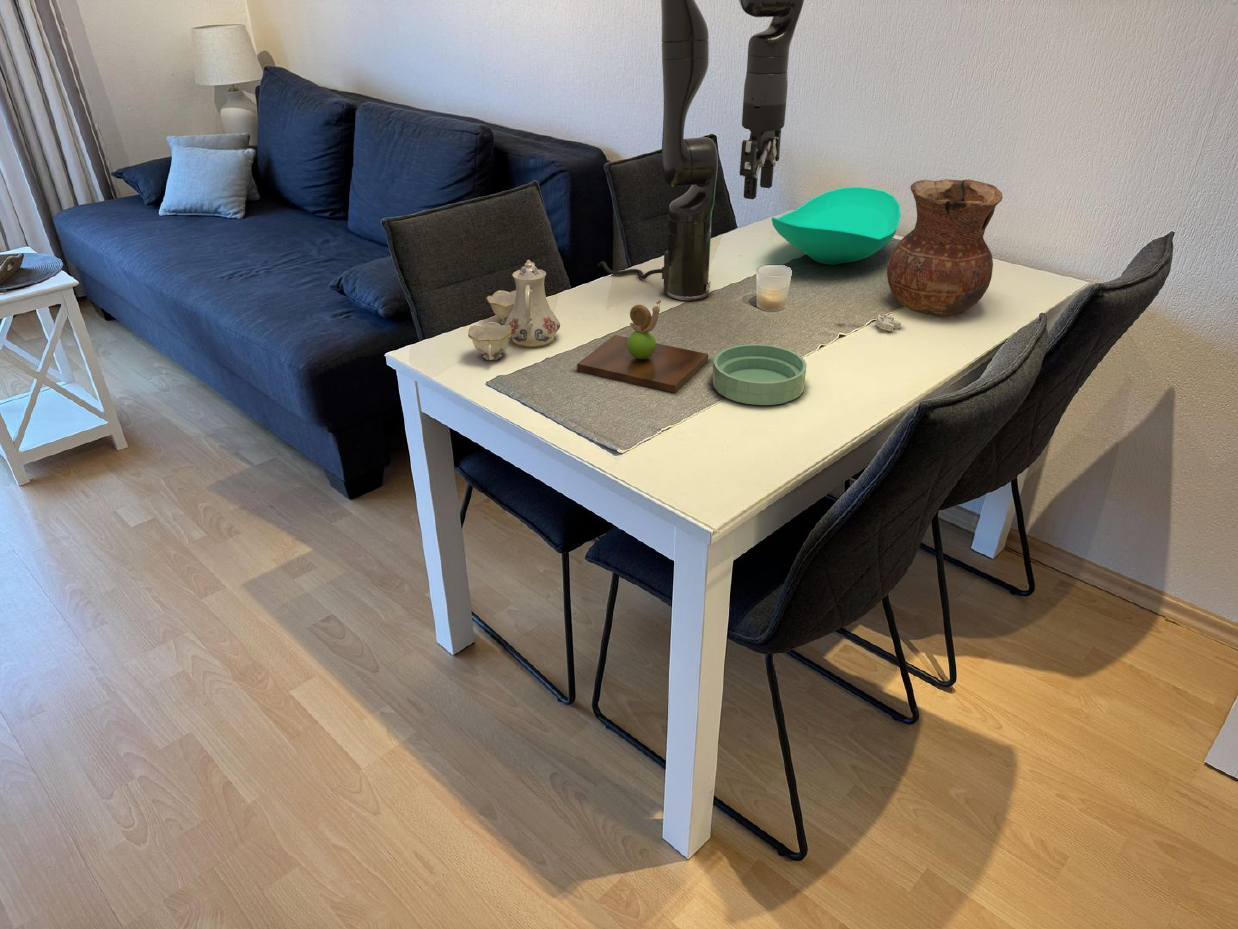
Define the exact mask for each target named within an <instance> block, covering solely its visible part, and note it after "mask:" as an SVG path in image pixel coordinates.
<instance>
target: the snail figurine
mask: <svg viewBox="0 0 1238 929" xmlns="http://www.w3.org/2000/svg"><path fill="white" fill-rule="evenodd" d="M661 301H662V300H661V299H658V300H655V304H656V305H654V306H653V307H652V313H651V311H650V310H649V308H648V307H647V306H645V305H643V304H635V305H633V306H632V307H631V309H630V310H629V318H630V320H631V322H629V326H630V327H631V328H632V330H634V331H633V332H632V333H631V334H630V335H629V336H628V341H627V348H628V351H629V353H630V354H631V355H632V356H633V357H635V358H637V359H646V358H649V357H650V356H651V355H652V354H653V353H654V352H655V349H656V343H657V340H656V337H655V335H654V334H653V333H651V332H652V331H653V330H654V329H655V327H656V326H657V322H658V319H659V313H660V312H661V307H660V306H661V305H660V304H661Z"/></svg>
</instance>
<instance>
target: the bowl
mask: <svg viewBox="0 0 1238 929" xmlns="http://www.w3.org/2000/svg"><path fill="white" fill-rule="evenodd" d="M807 365H808V364H807V362H806V360H805V359H804V357H802V356H801V355H800V354H799V353H797V352H794V351H793V350H791V349H788V348H784V347H782V346H776V345H772V344H763V343H746V344H737V345H733V346H730V347H727V348H725V349H722V350H720V351H719V352H718V353H717V354H716V355H715V356H714V359H713V363H712V381H711V382H712V386H713V388H714V389H715V391H716V392H717V393H718V394H719V395H721V396H723V397H724V398H726V399H729V400H731V401H734V402H737V403H741V404H747V405H754V406H774V405H781V404H785V403H788V402H791V401H794V400H795V399H797V398H799V397H800V396H801V395H802V394H803V392H804V391H805V383H806V374H807Z"/></svg>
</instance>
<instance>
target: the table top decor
mask: <svg viewBox="0 0 1238 929" xmlns="http://www.w3.org/2000/svg"><path fill="white" fill-rule="evenodd" d="M901 213H902V212H901V204H900V203H899V202H898V200H897V199H896V197H895V196H894V195H892V194H891V193H889V192H887V191H885V190H883V189H882V190H881V189H877V188H872V187H863V186H850V187H849V186H848V187H847V186H846V187H839V188H836V189H833V190H829V191H825V192H823V193H821V194H819V195H817V196H814V197H813V198H811V199H809V200H808V201H806V202H805V203H804V204H802V205H801V206H800V207H798V208H796V209H794V210H792V211H789V212H787V213H785V214H783V215H781V216H780V217H774V216H772V217H771V223H772V226H773V228H774V229H775V231H776V232H777V234H778V235H779V236H780V237H782V238H783V239H784V240H786V241H787V243H789V244H790V245H791V246H793V247H795V249H797V250H798V251H801V252H802V253H803V254H805V255H807V256H808V257H810V258H811V259H812V260H813V261H814V262H816V263H819V264H823V265H830V266H833V265H842V264H848V263H854V262H857V261H860V260H861V261H862V260H864V259H866V258H868V257H871V256H873V255H874V254H876V253H877V252H878V251H880V250H881V249H882V248H884V247H885V246H886V245H887V244H888V243H889V242H890V241H891V240H892V239H893V238H894V237H895V235H896V232H897V230H898V228H899V224H900V220H901V217H902V214H901Z"/></svg>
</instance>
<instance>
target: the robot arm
mask: <svg viewBox="0 0 1238 929" xmlns="http://www.w3.org/2000/svg"><path fill="white" fill-rule="evenodd" d="M738 2H739V5H740V8H741V9H742V11H743V12H744V13H745V14H747V15H749V16H751V17H753V18H772V19H771V20H770V23H769V25H768V27H767V28H766V29H765V30H763V31H760V32H758V33H757V32H756V33H755V34H753V35H751V36H750V38H749V39H748V45H747V58H746V72H745V79H744V85H743V96H742V98H743V100H742V115H741V126H742V128H743V129H745V130H749V131H750V134H749V137H748V139H747V140H746V139H743V140H742V142H741V150H740V163H739V176H741V177H743V178H744V181H743V182H744V183H743V198H744V199H746V200H755V199H756V198H757V193H758V180H759V186H760V187H761V188H762V189H763V188H764V189H771V188H772V187H773V181H774V170H775V169H774V168H775V167H776V165H777V162H779V161H780V154H781V153H780V152H781V140H782V139H781V138H782V137H781V136H782V129H783V128H785V122H786V110H787V99H788V86H789V80H788V69H789V68H788V67H789V59H790V58H789V57H790V47H791V43H792V40H793V37H794V34H795V31H796V27H797V24H798V21H799V18H800V16H801V13H802V9H803V6H804V3H805V0H738ZM660 10H661V66H662V67H661V68H662V70H661V71H662V86H663V87H662V88H663V89H662V91H663V95H662V96H663V112H662V113H663V116H662V137H661V170H662V176H663V179H664V181H665V183H666V184H667V186H669V187H672V188H677V187H688V186H690V188H689V189H688V190H687V191H686V192H685V193H684V194H683V195H681V196H679V197H677V198H675V199H673V200H672V201H671V202H670V204H669V206H668V222H667V223H668V227H667V228H668V229H667V230H668V232H667V234H668V235H667V250H666V251H665V252H664V253H663V267H661V268H656V269H651V270H648V271H646V272H645V273H643V270H641V269H638V268H629V269H624V270H612V269H611V268H610V267H609V266H608V264H607V263H606V261H600V262H599V263H598V264H597V267H598V268H602V267H603V269H604V271H605V272H606V273H607V274H608V275H612V276H624V275H627V274H638V277H639V279H641V280H645V279H647V278H648V277H650V276H651V275H657V274H661V279H662V280H663V287H662V289H663V291H662V292H663V293H662V294H663V295H665V296H668V297H669V298H671V299H675V300H678V301H687V302H688V301H689V302H690V301H698V300H703V299H705V298H706V297H708V296H709V292H710V291H709V289H710V288H711V283H712V282H711V280H709V279H710V264H711V263H710V262H711V241H712V217H713V209H714V206H715V198H716V196H715V195H716V186H717V178H718V169H719V157H718V155H719V154H718V150H717V145H716V144H715V142H714V140H713V139H711V138H710V137H706V136H701V137H700V136H699V137H690V138H689V137H688V138H684V135H685V125H686V119H687V115H688V113H689V110H690V107H691V105H692V103H693V101H694V99H695V97H696V95H697V93H698V92H699V89H700V88H701V86H702V84H703V82H704V80H705V77H706V75H707V72H708V69H709V64H710V63H709V62H710V58H709V57H710V40H709V39H710V37H709V28H708V25H707V21H706V19H705V17H704V16H703V15H704V14H702V11H701V10H700V8H699V5H698V4H697V3H696V1H695V0H660ZM759 174H760V176H759ZM758 177H760V178H759V179H758Z"/></svg>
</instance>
